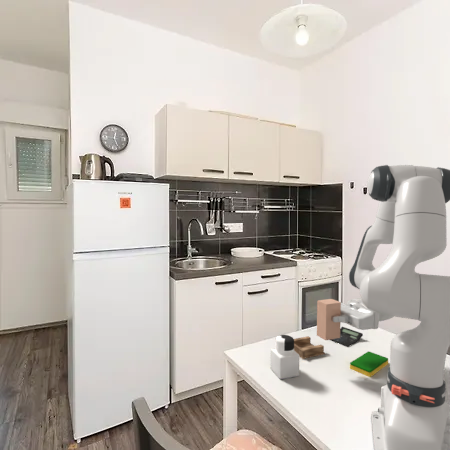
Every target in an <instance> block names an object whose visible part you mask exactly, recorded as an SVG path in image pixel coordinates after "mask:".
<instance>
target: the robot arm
mask: <svg viewBox="0 0 450 450" xmlns="http://www.w3.org/2000/svg"><path fill="white" fill-rule="evenodd" d="M366 183H367V184H366V187H367V191H368V196H369V197H370V198H371V199H372V200H375V201H378V202H379V203H378V207H377V211H376V215H375V220H374V222H373V224H372V225H369V226H368V227H367V228H366V230H365V232H364V234H363V237H362V239H361V242H360V244H359V245H360V246H359V248H358V252H357V253H356V258H355V261H354V263H353V265H352V266H351V268H350V271H349V273H348V279H349V283H350V284H351V286H353V287H354V288H355V289H357V290H359V295H360V296H359V297H360V298H351V299H349V300H347V302H346V303H343V302H341V316H336V315H334V316H331V321H333V322H340V323H343V324H346V325H349V326H351V327H353V328H355V329H358V330H361V331H362V330H363V331H365V330H367V331H368V330H378V329H379V325H380V324H379V323H380V322H383V321H387V320H390V319H393V318H394V317H395V318H401V319H407V320H415V321H417V322H418V321H419V322H420V323H419V324H418V325H417V326H416V327H414V328H411V329H407V330H403V331H400V332H398V333H397V334H395V335H394V336H393V337H392V338H391V341H390V351H389V352H390V353H389V354H390V357H389V366H388V368H387V373H386V379H387V381H386V384H385V385H382V386H381V390H380V407H378V409H377V410H373V411H371V414H370V419H371V421H370V422H371V430H372V440H373V450H450V403H448V401H447V400H446V394H447V387H446V382H445V379H444V378H445V375H444V374H445V365H446V358H447V355H448V354H447V353H448V350H449V348H450V276H448V275H439V274H438V275H436V274H427V273H425V274H424V273H419V272H417V271H416V270H415V269H416V266H417V265H419V264H420V263H424V262H426V261H429V260H432V259H435V258H437V257H439V256H441V255H442V254H443V253H444V252H445V250H446V248H447V245H448V242H447V239H448V238H447V207H446V204H447V203H448V202H450V169H448V168H443V167H439V166H438V167H430V166H422V165H420V166H419V165H414V164H411V165H410V164H403V165H402V164H399V165H388V164H385V165H384V164H383V165H379V166H376V167H375V168H373V169H372V170H371V172H370V175H369V176H368V178H367V181H366ZM379 245H391V249H390V250H389V253H388V254H387V257H386V258H385V259H384V261H383V262H381V264H380V265H378V266H377V267H375V266H374V264H373V260H374V257H375V255H376V252H377V249H378V247H379Z"/></svg>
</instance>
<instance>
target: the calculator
mask: <svg viewBox="0 0 450 450" xmlns="http://www.w3.org/2000/svg"><path fill="white" fill-rule="evenodd" d="M362 337H363V332H359V331H356V330H353V329H350V328H347V327H345V326H340V338H336V339H331V340H330V341H332V342H334V343H336V344H338V343H339V345H341V346H344V347H346V348H349V347H350V345H351V346H353V345H354V344H356V343H358V342H360V340H361V339H362ZM352 344H353V345H352Z"/></svg>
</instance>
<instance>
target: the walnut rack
mask: <svg viewBox="0 0 450 450" xmlns="http://www.w3.org/2000/svg"><path fill="white" fill-rule="evenodd" d="M293 339H294V351H295V352H296V353H298V354H299V356H300V358H301V359H302V360H304V359H311V358H314V357H319V356H323V355H326V353H325V351H324V348H325V346H324V345H323V344H318V345H314V344H313V343H311V337H310V336H303V337H297V338H293Z"/></svg>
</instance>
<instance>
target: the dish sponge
mask: <svg viewBox="0 0 450 450" xmlns="http://www.w3.org/2000/svg"><path fill="white" fill-rule="evenodd" d="M388 365H389V358H388V357H386V356H383V355H380V354H377V353H375V352H372V351H367V352H365V353H363V354H362V355H360V356H359V357H356V358H355V359H354V360H352V361H351V362H349V369H350V370H352V371H354V372H357V373H359V374H362V375H363V376H366V377H368V378H371V377H373V376H374V375H376V374H377V373H378V372H379V371H381V370H382V369H383V368H385V367H386V366H388Z"/></svg>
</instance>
